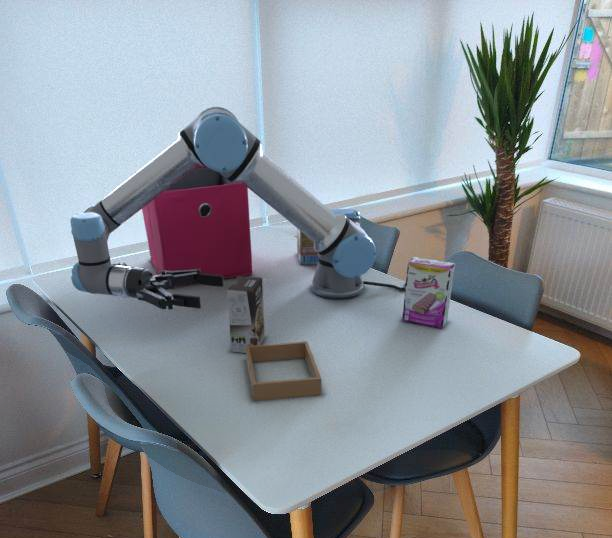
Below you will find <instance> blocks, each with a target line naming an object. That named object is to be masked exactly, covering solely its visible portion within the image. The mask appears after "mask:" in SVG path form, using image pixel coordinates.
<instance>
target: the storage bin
mask: <svg viewBox="0 0 612 538" xmlns="http://www.w3.org/2000/svg"><path fill="white" fill-rule="evenodd" d="M136 172H137V171H135V173H136ZM135 173H134V174H135ZM141 212H142V218H143V222H144V229H145V233H146V234H145V235H146V239H147V244H148V252H149V256H150V262H151V263H152V265H153V266H154V268H155V270H156V271H157V273H158V275H162V274H161V271H163V270H164V271H177V270H191V269H200V270H201V273H204V274H213V275H223V280H225V279H231V278H237V277H238V276H240V277H246V276H251V275H253V274H254V271H253V257H252V256H253V255H252V241H251V240H252V239H251V223H250V202H249V188H248V187H246V186H245V185H244V184H243V183H242V182H233V183H231V182H230V181H229V180H228V179H226V178H225V177H224V176H223V175H221V174H220V173H219V172H217V171H214V170H212V169H210V168H208V167H207V166H206V165H205V166H204V167H200V166H197V167H196V168H194V169H193V170H192V171H190V172H189V173H188V174H186V175H185V176H184V177H183V178H181V179H180V180H179V181H177V182H176V183H175V184H173V185H172V186H171V187H170V188H168V189H167V190H166V191H164V192H163V193H162V194H160V195H159V196H158V197H156V198H155V199H154V200H153V201H151V202H150V203H149V204H147V205H146V206H145V207H143V208H142V209H141ZM169 283H170V282H169ZM194 284H196V283H192V284H191V285H194ZM188 285H189V284H186V285H185V286H188ZM182 286H183V285H180V286H179V287H182ZM176 287H178V286H175V287H174V288H176Z"/></svg>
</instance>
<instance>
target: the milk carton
mask: <svg viewBox="0 0 612 538" xmlns="http://www.w3.org/2000/svg"><path fill="white" fill-rule="evenodd" d="M296 252H297V253H296V254H297V258H298V261H299V265H300V266H308V265H311V266H312V265H318V252H316V251H315V250H314V242H313V241H312V240H311V239H310V238H309V237H307V236H306V235H305V234H304V233H303V232H301V231H300V230H299V229H298V228H296Z"/></svg>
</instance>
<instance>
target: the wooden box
mask: <svg viewBox="0 0 612 538" xmlns="http://www.w3.org/2000/svg"><path fill="white" fill-rule="evenodd" d="M245 347H246V353H245V360H246V361H245V362H246V366H247V372H248V378H249V384H250V390H251V395H252V400H253V402H256V401H269V400H279V399H288V398H289V399H290V398H299V397H301V398H302V397H310V396H311V397H312V396H319V395H320V396H321V395H322V376H321V373H320V370H319V368H318V365H317V363H316V360H315V358H314V355H313V352H312V350H311V347H310V343H309V342H308V340H304V341H303V340H302V341H292V342H280V343H266V344H261V345H253V346H245ZM295 359H305V363H306V365H307V369H308V371H309V374H310V377H304V378H292V379H281V380H269V381H259V382H256V375H255V369H254V365H253V363H257V362H258V363H259V362H270V361H271V362H272V361H282V360H295Z"/></svg>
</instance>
